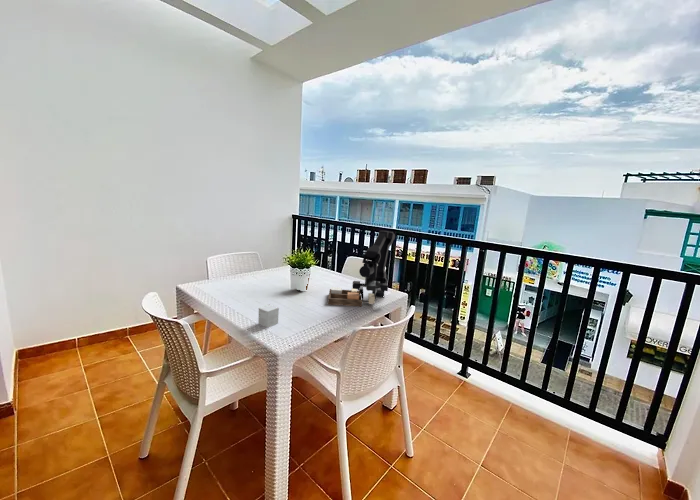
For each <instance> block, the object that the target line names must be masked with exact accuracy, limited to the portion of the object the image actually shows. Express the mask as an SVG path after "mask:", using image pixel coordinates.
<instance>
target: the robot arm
mask: <svg viewBox="0 0 700 500" xmlns="http://www.w3.org/2000/svg"><path fill="white" fill-rule="evenodd" d="M395 238H396V234H395V233H394V232H393V231H387V230H378V235H377V237H376V239H375V240H374V242H373V244H372V246H370V247H368V248H367V250H366V251H364V252H365V253H364V255H363V258H362V264H363V265H362V266H361V267H360V269H359V272H358V273H359V275H360V276H361V277H362V278H364V279H365V281H364V283H361V281H360V280H353V281H352V287H351V288H353V289H357V291H360V293H361V300H362V301H363V300H364V288H366V291H368V292H369V291H372V292H371V294H374V295H375V301H376V300H377V298H384V297H385V292H388V289H389V286H388V283H389V282H388V280H387V274H386V266H387V260H388V256H389V251H390V250H389V249H390V246H392V245H393V243H394V241H395ZM383 296H384V297H383Z"/></svg>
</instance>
